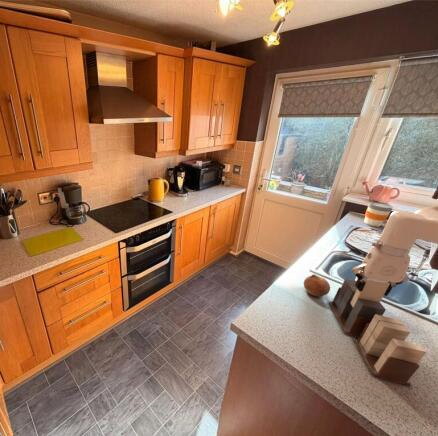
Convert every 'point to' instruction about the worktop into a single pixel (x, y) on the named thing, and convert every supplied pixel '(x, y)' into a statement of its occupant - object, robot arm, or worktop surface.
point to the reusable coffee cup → (377, 213)
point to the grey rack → (354, 309)
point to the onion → (316, 286)
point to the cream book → (371, 291)
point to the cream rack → (389, 349)
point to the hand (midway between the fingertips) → (370, 290)
